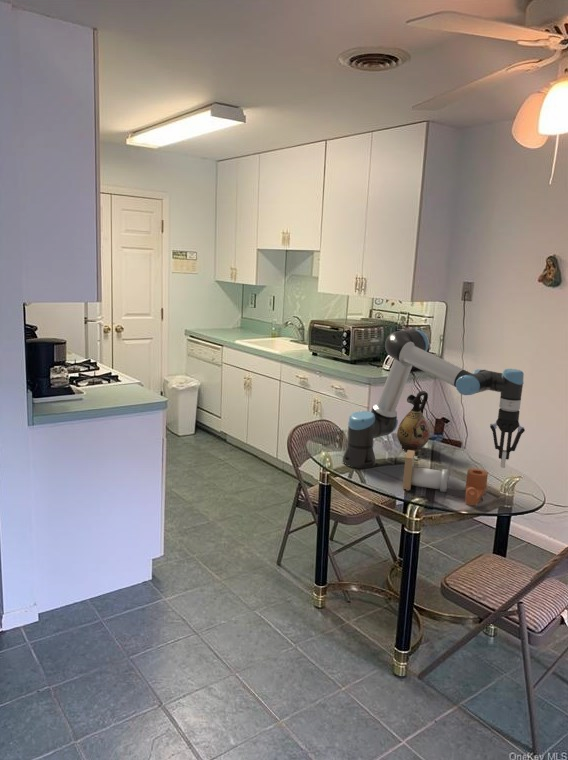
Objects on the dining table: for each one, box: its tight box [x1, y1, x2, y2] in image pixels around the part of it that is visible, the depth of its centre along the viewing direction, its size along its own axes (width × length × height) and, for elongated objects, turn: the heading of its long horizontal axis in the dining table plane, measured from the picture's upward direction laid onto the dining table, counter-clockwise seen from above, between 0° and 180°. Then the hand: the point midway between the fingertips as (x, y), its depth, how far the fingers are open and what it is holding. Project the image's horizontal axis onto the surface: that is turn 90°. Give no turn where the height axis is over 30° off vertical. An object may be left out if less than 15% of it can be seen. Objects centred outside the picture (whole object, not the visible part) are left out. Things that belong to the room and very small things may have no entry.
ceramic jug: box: [396, 390, 430, 453], centre depth 285 cm, size 17×15×30 cm
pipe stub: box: [402, 450, 449, 493], centre depth 238 cm, size 17×10×14 cm, turn 73°
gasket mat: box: [446, 486, 484, 502], centre depth 235 cm, size 14×8×1 cm, turn 73°
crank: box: [464, 468, 489, 506], centre depth 232 cm, size 20×8×8 cm
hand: (502, 466), depth 228 cm, fingers closed
